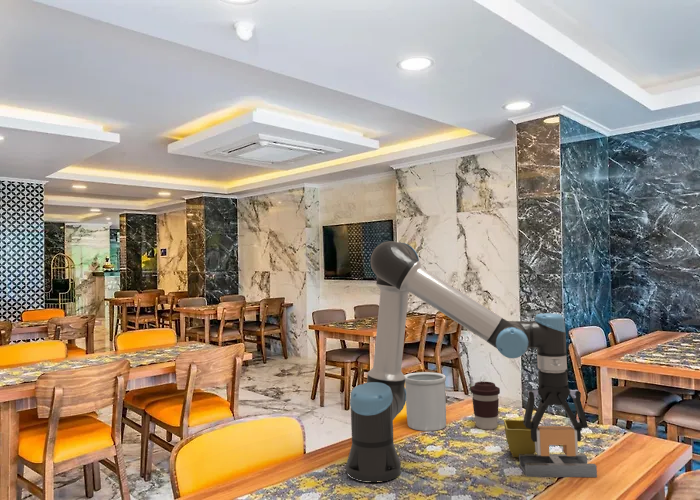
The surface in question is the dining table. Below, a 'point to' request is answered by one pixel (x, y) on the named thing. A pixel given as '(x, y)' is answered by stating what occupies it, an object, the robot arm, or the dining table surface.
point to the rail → (556, 465)
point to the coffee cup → (485, 404)
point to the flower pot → (518, 438)
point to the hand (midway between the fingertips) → (556, 453)
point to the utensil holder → (426, 401)
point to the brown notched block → (557, 439)
